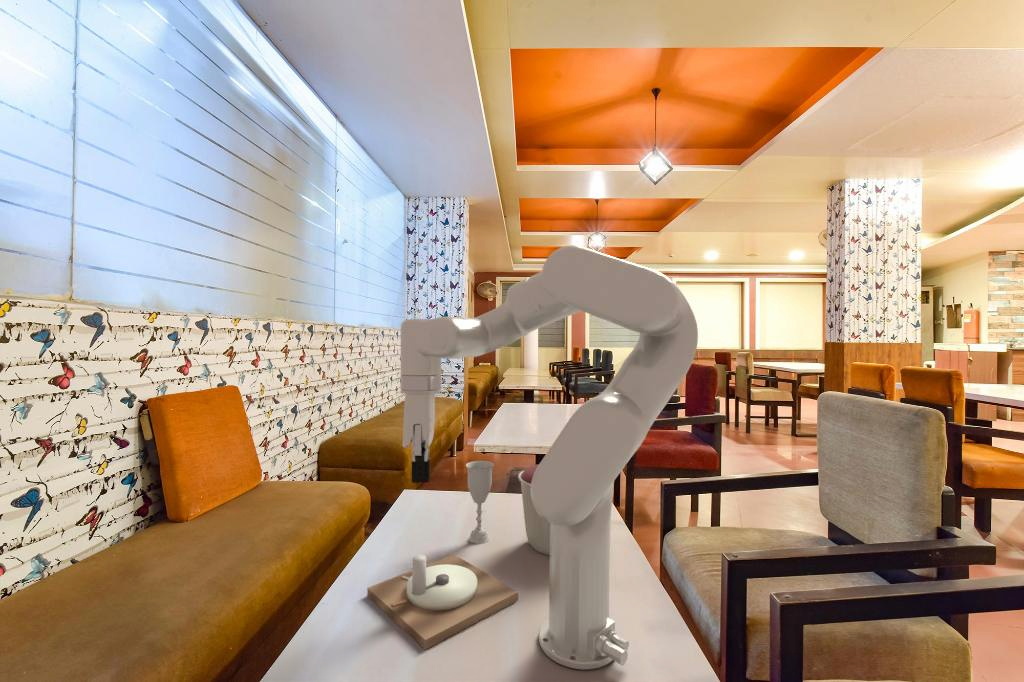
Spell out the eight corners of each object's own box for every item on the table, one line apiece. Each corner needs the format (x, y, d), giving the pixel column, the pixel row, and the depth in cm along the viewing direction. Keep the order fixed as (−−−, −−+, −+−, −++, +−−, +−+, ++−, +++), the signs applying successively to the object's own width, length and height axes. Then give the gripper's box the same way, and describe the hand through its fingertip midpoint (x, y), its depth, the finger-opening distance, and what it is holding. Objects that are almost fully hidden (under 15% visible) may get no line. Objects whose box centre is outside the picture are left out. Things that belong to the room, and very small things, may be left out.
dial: (450, 565, 94) (451, 529, 94) (491, 591, 84) (491, 551, 84) (393, 588, 85) (394, 548, 85) (431, 620, 76) (432, 575, 76)
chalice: (488, 547, 106) (489, 469, 106) (460, 544, 107) (461, 468, 107) (496, 533, 113) (497, 461, 113) (470, 531, 114) (470, 459, 114)
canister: (506, 557, 101) (507, 462, 101) (529, 525, 118) (530, 445, 118) (587, 571, 95) (589, 471, 95) (599, 536, 112) (600, 451, 112)
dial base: (517, 600, 84) (517, 591, 84) (425, 649, 71) (425, 638, 71) (454, 561, 99) (454, 553, 99) (367, 595, 85) (367, 586, 85)
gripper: (406, 381, 93) (406, 470, 93) (393, 388, 78) (393, 495, 78) (443, 380, 94) (443, 469, 93) (437, 388, 79) (437, 494, 79)
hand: (420, 481), depth 86 cm, fingers closed
